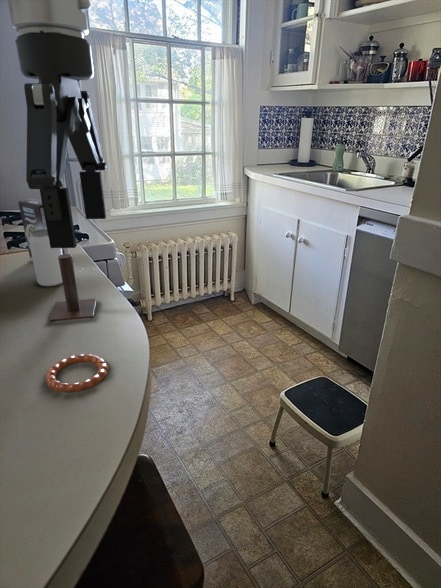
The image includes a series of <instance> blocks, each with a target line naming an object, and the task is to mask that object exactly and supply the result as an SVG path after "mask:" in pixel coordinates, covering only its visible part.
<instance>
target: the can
mask: <svg viewBox="0 0 441 588" xmlns="http://www.w3.org/2000/svg"><path fill="white" fill-rule="evenodd" d="M29 244H30V249H31V254H32V258H33V262H32V263H33V267H34V274H35V277H36V282H37V284H38V285H40V286H41V287H56V286H59V285H63V282H62V276H61V271H60V265H59V260H58V256H60V255H63V253H62V248H50V242H49V237H48V232H47V229H41V230H36V231H33V232H31V233H30V239H29Z"/></svg>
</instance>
